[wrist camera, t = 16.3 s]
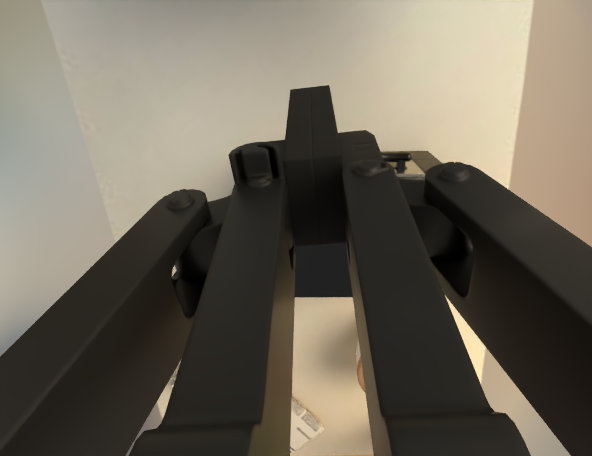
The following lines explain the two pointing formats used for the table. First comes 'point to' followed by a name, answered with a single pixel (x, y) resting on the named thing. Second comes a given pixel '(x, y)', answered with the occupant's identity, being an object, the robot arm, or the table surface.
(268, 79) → the table surface
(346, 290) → the box
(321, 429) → the newspaper
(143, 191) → the table surface
